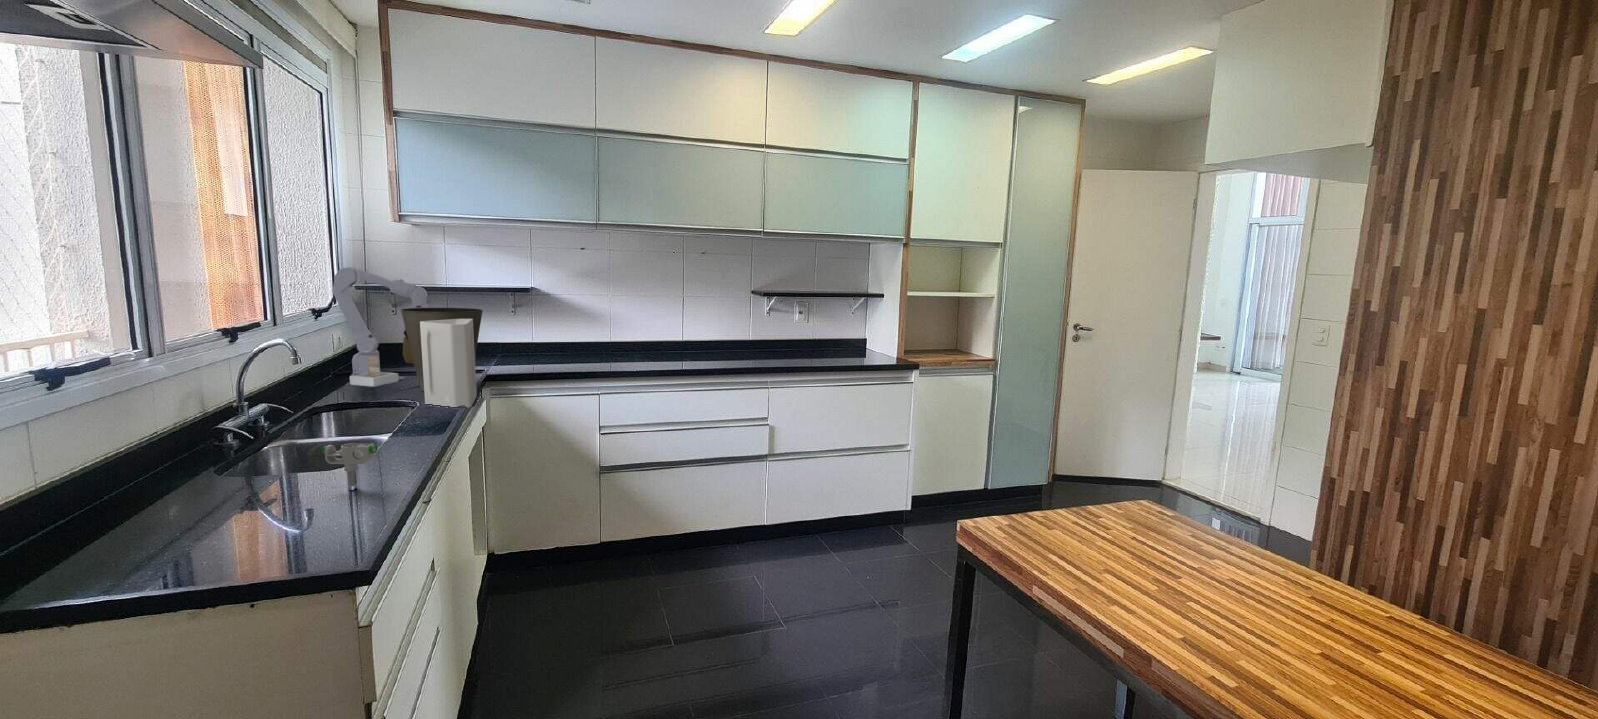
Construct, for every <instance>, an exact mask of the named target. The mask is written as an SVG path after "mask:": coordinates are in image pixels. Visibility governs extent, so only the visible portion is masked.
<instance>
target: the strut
mask: <svg viewBox="0 0 1598 719" xmlns="http://www.w3.org/2000/svg"><path fill="white" fill-rule="evenodd" d="M379 360H380V359H379ZM379 360H378V356H368V368H369V376H367V377H372V378H374V377H379V376H381V375H380V374H379Z"/></svg>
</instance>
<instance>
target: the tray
mask: <svg viewBox="0 0 1598 719" xmlns="http://www.w3.org/2000/svg"><path fill="white" fill-rule="evenodd" d="M379 374H380V375H381V376H379V377H374V378H372V377H367V376H369V373H364V374H354V375H349V385H351V386H361V387H369V388H370V387H372V388H374V387H379V386H383V385H384V386H385V385H388V384H393V383H394V384H395V383H399V381H400V379H398V376H399V373H397V372H396V373H395V372H384V371H380V372H379Z"/></svg>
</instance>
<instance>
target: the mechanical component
mask: <svg viewBox="0 0 1598 719" xmlns="http://www.w3.org/2000/svg"><path fill="white" fill-rule="evenodd" d="M377 451H378V448H377V445H375V443H355V442H354V443H345V444H342V445H341V446H340V449H339V450H337V449H336V446H335V445H334V444H328V445H324V446H323V447H322V453H323V454H324V456H325V462H327V463H328V464H330V465H343V466H344V468H343V471H344V472H346V474H347V485H348V486H354V485H356V484H357V485H358V481H357V470H359V468H360V467H359V466H358V465H364V464H366V463H368V462H370V461H371V460H373V459H374V458H375V454H376V453H377ZM338 457H341V458H338Z"/></svg>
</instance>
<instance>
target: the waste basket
mask: <svg viewBox="0 0 1598 719" xmlns="http://www.w3.org/2000/svg"><path fill="white" fill-rule="evenodd" d="M400 311H401V315H402V320H403V323H404V324H403V325H404V327H405V329H406V333H407V337H408V341H409V345H410V349H411V353H412V357H413V361H414V364H413V366H414V369H415V373H416V378H417V382H418V386H419V390H420V391H422V392H424V377H423V362H422V346H421V330H420V322H421V321H434V320H448V319H473V332H474V352H475V356H476V354H477V348H478V342H479V334H480V330H481V323H482V317H483V312H484V309H481V308H474V307H473V308H472V307H471V308H470V307H469V308H468V307H427V308H412V307H411V308H410V307H409V308H401V309H400Z"/></svg>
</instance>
